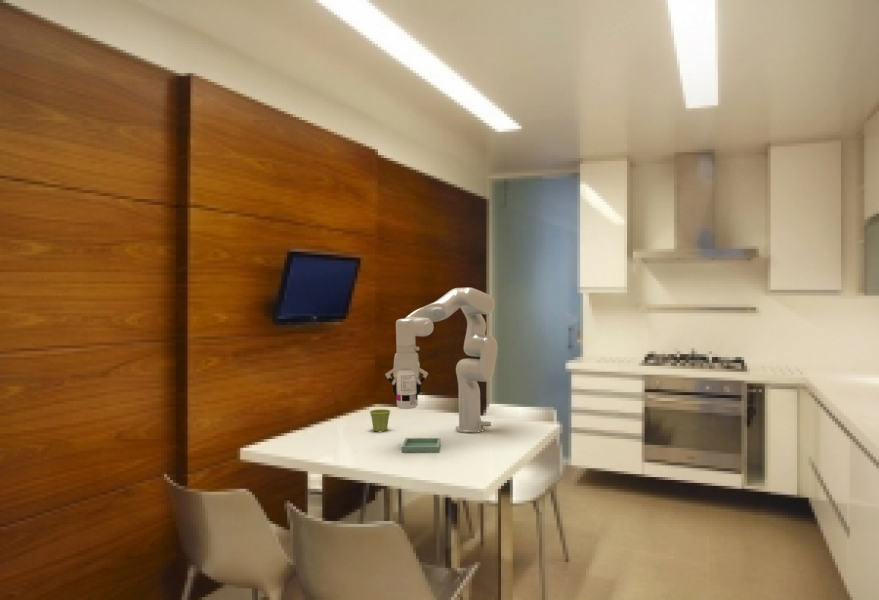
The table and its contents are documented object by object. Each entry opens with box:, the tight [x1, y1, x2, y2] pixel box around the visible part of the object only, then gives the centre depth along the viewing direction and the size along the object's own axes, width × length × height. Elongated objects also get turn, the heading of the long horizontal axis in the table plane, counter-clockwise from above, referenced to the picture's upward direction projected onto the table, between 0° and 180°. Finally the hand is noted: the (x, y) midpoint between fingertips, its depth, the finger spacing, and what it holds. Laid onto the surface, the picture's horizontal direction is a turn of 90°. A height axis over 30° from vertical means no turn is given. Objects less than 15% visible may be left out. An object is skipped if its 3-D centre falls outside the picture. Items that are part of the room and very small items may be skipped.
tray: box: [401, 437, 441, 454], centre depth 209 cm, size 14×14×2 cm
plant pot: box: [369, 408, 391, 432], centre depth 241 cm, size 9×9×9 cm
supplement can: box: [396, 370, 419, 410], centre depth 213 cm, size 8×8×15 cm
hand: (407, 394), depth 213 cm, fingers closed on supplement can, 8 cm apart
